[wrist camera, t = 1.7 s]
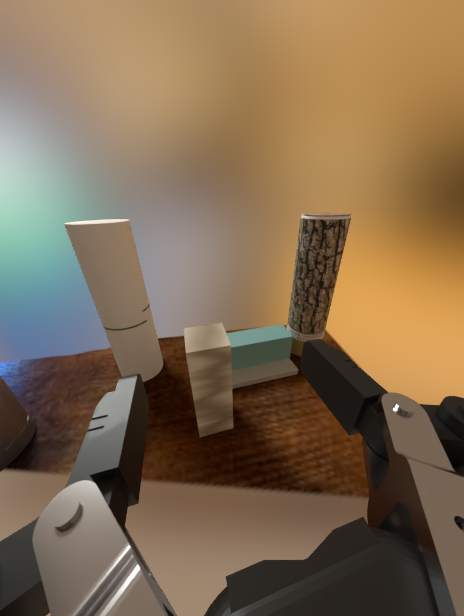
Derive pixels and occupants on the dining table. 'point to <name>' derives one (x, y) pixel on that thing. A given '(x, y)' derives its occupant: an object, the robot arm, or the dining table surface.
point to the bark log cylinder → (315, 275)
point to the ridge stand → (260, 355)
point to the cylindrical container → (118, 293)
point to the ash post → (210, 377)
